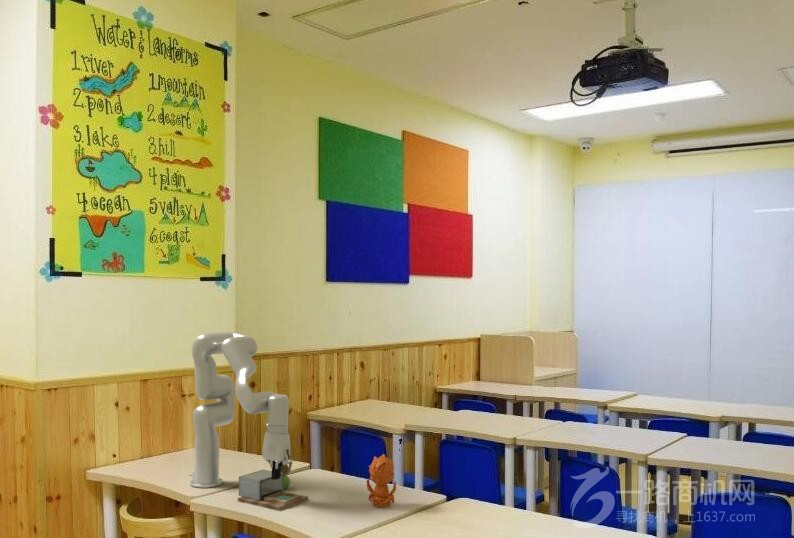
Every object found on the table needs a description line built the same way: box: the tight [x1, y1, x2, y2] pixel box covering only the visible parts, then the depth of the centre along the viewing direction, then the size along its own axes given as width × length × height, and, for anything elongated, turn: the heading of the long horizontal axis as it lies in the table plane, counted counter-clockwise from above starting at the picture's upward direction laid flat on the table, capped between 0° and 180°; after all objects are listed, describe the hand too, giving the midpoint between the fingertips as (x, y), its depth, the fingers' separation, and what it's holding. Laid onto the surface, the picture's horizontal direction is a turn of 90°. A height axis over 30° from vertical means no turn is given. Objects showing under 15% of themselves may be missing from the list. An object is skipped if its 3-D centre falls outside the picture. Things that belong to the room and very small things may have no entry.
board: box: [237, 490, 309, 511], centre depth 270 cm, size 20×16×2 cm
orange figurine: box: [366, 453, 397, 509], centre depth 266 cm, size 11×11×18 cm
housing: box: [238, 469, 285, 501], centre depth 273 cm, size 10×13×7 cm
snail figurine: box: [281, 457, 293, 490], centre depth 285 cm, size 5×6×12 cm
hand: (275, 478), depth 269 cm, fingers closed
